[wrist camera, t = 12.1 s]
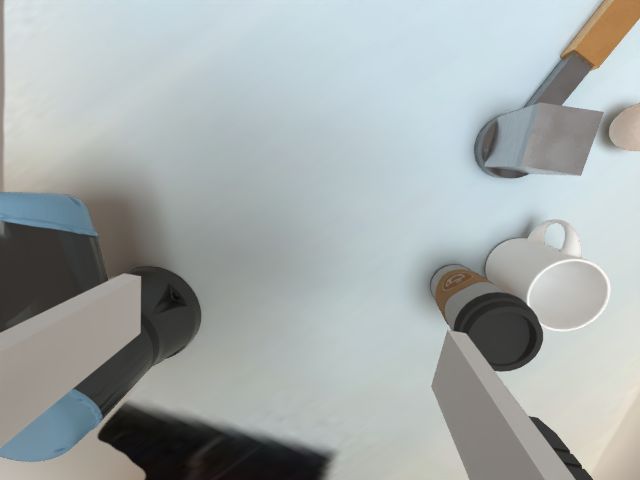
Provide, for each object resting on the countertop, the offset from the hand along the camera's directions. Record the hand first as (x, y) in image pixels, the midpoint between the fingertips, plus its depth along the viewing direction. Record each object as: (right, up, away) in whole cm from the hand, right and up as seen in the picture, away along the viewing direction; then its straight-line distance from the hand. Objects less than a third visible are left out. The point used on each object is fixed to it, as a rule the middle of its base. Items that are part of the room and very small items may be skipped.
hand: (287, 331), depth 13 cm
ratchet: (+30, +22, +25) cm, 45 cm away
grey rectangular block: (+26, +16, +24) cm, 39 cm away
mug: (+30, +2, +30) cm, 42 cm away
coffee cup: (+21, -3, +32) cm, 38 cm away
